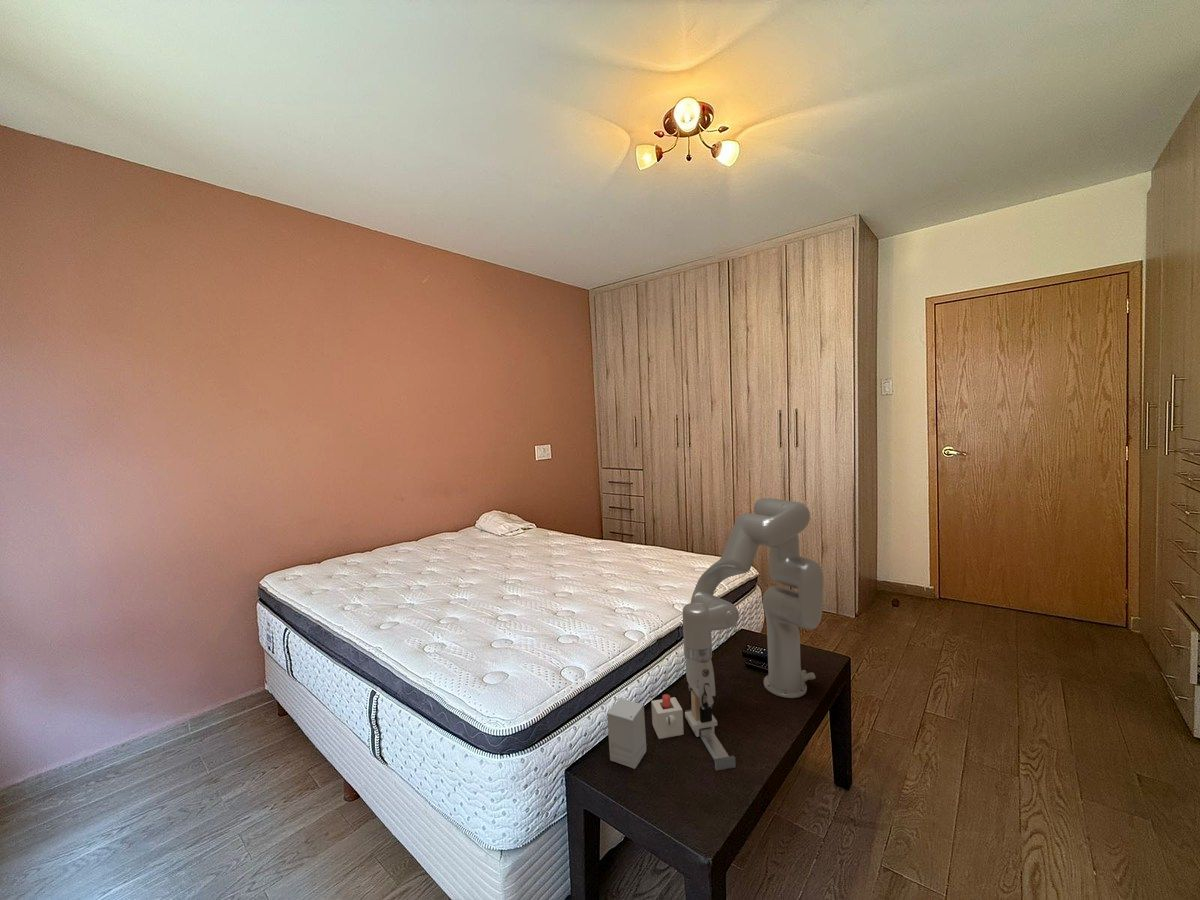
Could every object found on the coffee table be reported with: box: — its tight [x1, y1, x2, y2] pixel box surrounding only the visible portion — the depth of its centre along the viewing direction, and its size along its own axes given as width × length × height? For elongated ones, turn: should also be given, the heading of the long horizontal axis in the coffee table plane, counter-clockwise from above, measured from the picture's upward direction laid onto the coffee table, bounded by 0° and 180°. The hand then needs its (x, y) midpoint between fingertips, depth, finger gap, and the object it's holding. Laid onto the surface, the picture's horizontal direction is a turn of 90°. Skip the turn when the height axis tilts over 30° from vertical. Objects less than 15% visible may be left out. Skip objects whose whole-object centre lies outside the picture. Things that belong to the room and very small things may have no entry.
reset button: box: [661, 693, 671, 710], centre depth 127 cm, size 2×2×5 cm
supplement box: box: [606, 697, 647, 770], centre depth 117 cm, size 7×7×13 cm
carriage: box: [684, 690, 718, 738], centre depth 126 cm, size 7×6×10 cm
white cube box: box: [650, 696, 685, 740], centre depth 126 cm, size 7×7×7 cm
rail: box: [684, 708, 737, 772], centre depth 122 cm, size 5×21×2 cm, turn 10°
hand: (700, 712), depth 126 cm, fingers open, 7 cm apart
